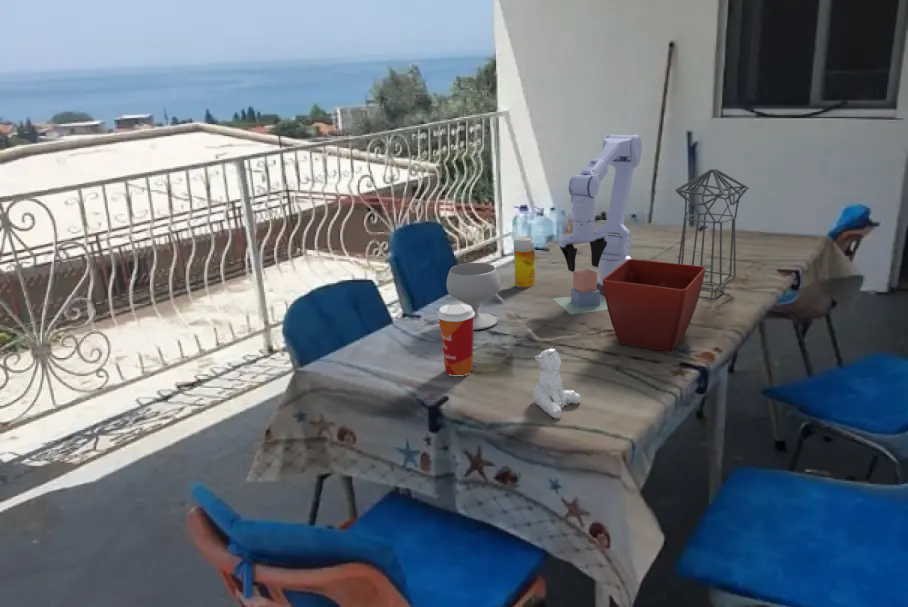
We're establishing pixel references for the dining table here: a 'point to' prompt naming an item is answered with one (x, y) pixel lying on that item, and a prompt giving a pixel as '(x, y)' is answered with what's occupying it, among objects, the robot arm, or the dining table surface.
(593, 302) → the base brick
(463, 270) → the chalice
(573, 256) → the robot arm
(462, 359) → the coffee cup
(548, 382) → the seated beast figurine
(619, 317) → the plant pot
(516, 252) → the beer can
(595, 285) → the top brick
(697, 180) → the geometric lantern
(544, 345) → the dining table surface
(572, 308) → the plate
